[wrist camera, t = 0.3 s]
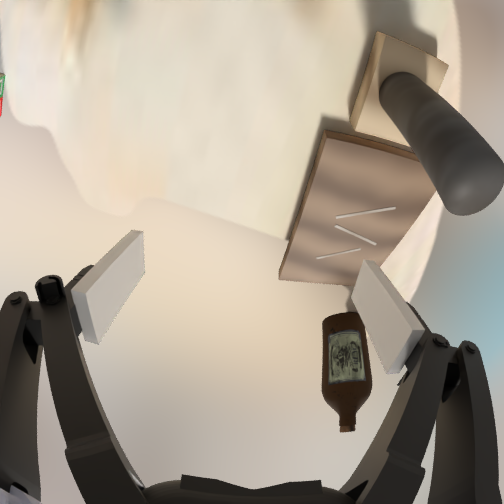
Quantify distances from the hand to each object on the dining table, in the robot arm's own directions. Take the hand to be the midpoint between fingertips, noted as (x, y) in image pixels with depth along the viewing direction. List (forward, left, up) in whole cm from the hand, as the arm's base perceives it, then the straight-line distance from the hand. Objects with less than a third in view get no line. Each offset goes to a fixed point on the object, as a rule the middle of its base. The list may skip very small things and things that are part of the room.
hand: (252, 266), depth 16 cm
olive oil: (+40, +23, -14) cm, 48 cm away
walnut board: (+10, +13, -14) cm, 21 cm away
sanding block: (-8, +10, -14) cm, 19 cm away
